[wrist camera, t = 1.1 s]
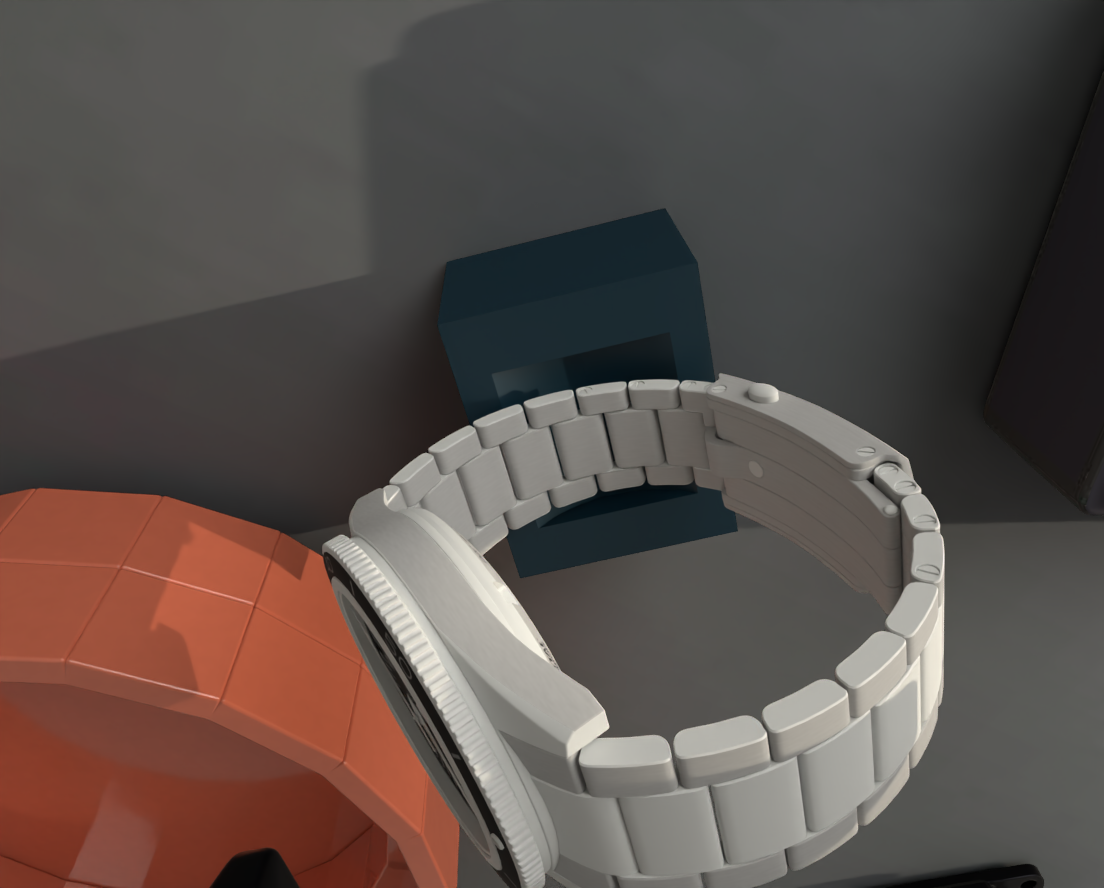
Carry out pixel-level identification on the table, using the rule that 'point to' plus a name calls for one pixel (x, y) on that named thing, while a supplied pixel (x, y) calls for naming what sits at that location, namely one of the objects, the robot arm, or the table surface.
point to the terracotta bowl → (192, 708)
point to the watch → (622, 529)
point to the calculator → (1062, 339)
